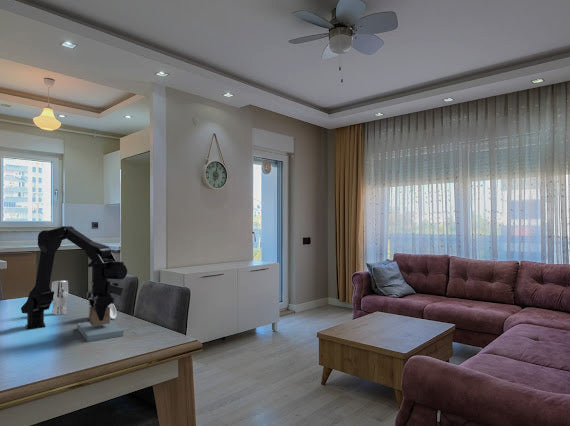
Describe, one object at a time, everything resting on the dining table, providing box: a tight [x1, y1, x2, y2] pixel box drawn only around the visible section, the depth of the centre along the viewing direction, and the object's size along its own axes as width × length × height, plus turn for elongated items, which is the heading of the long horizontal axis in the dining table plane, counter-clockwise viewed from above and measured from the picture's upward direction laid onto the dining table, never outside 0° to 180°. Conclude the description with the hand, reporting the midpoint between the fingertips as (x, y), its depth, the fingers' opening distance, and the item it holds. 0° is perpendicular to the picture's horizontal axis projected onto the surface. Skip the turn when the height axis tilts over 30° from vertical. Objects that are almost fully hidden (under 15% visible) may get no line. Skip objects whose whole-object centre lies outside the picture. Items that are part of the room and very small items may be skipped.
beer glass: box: [50, 279, 69, 316], centre depth 180 cm, size 7×7×15 cm
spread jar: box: [88, 297, 118, 320], centre depth 170 cm, size 12×11×12 cm
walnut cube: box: [88, 306, 111, 326], centre depth 148 cm, size 6×6×6 cm
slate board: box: [76, 319, 124, 343], centre depth 148 cm, size 22×12×2 cm, turn 37°
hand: (99, 319), depth 148 cm, fingers closed on walnut cube, 6 cm apart
